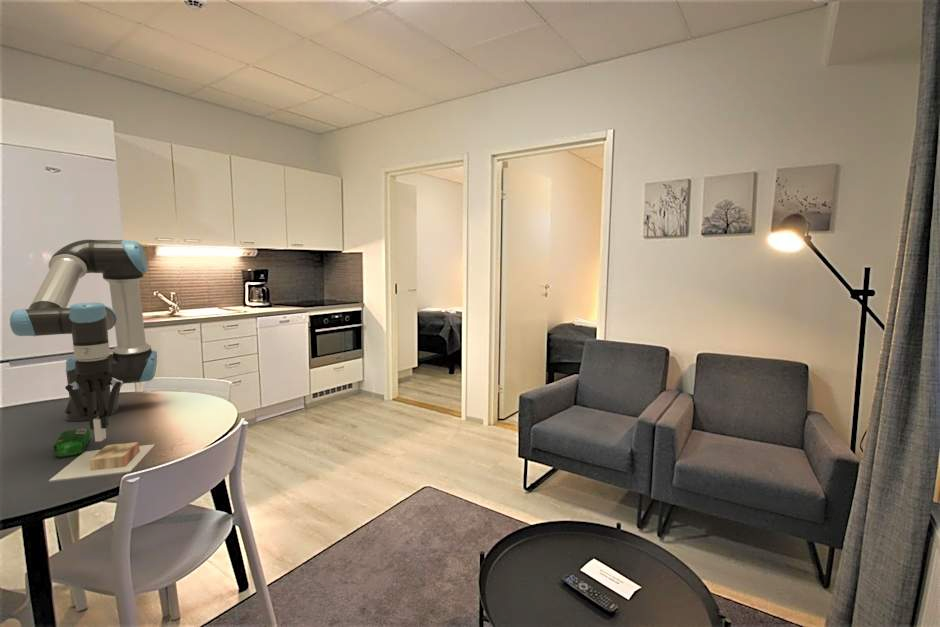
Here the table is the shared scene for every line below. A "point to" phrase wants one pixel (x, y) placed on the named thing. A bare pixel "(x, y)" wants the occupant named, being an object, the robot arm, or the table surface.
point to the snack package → (71, 442)
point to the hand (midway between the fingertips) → (100, 439)
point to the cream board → (82, 469)
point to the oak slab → (114, 456)
